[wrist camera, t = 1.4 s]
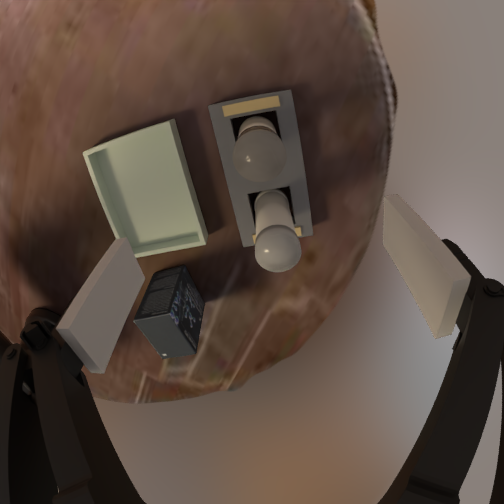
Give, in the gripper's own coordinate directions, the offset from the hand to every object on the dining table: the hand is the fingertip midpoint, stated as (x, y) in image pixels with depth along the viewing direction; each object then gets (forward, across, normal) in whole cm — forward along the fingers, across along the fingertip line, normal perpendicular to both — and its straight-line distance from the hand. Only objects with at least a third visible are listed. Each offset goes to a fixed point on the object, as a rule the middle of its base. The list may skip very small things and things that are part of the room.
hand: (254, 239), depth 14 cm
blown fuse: (+22, 0, +1) cm, 22 cm away
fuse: (+22, 0, -8) cm, 23 cm away
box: (+22, -16, -19) cm, 33 cm away
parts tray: (+22, -15, -3) cm, 27 cm away
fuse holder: (+22, 0, -3) cm, 23 cm away
